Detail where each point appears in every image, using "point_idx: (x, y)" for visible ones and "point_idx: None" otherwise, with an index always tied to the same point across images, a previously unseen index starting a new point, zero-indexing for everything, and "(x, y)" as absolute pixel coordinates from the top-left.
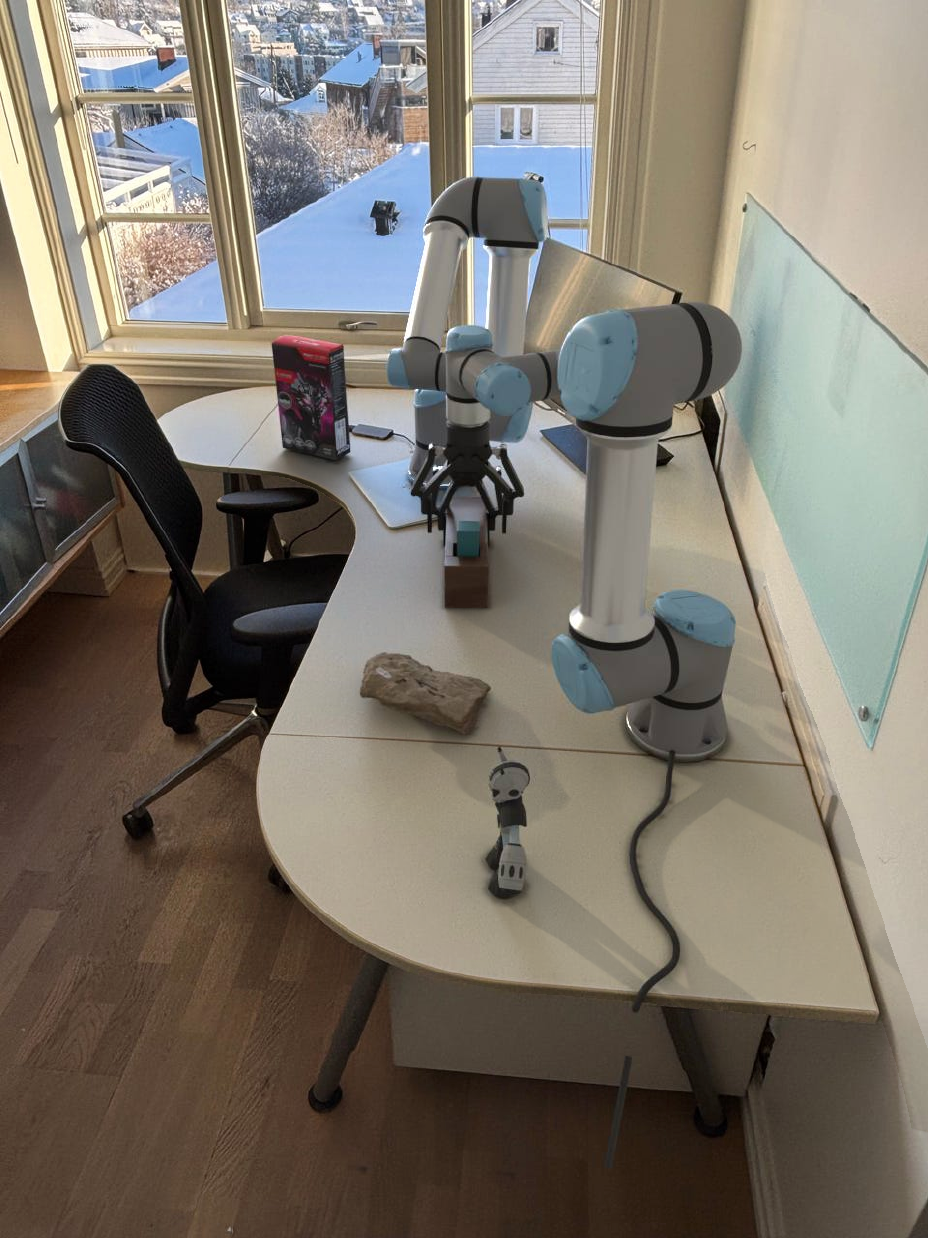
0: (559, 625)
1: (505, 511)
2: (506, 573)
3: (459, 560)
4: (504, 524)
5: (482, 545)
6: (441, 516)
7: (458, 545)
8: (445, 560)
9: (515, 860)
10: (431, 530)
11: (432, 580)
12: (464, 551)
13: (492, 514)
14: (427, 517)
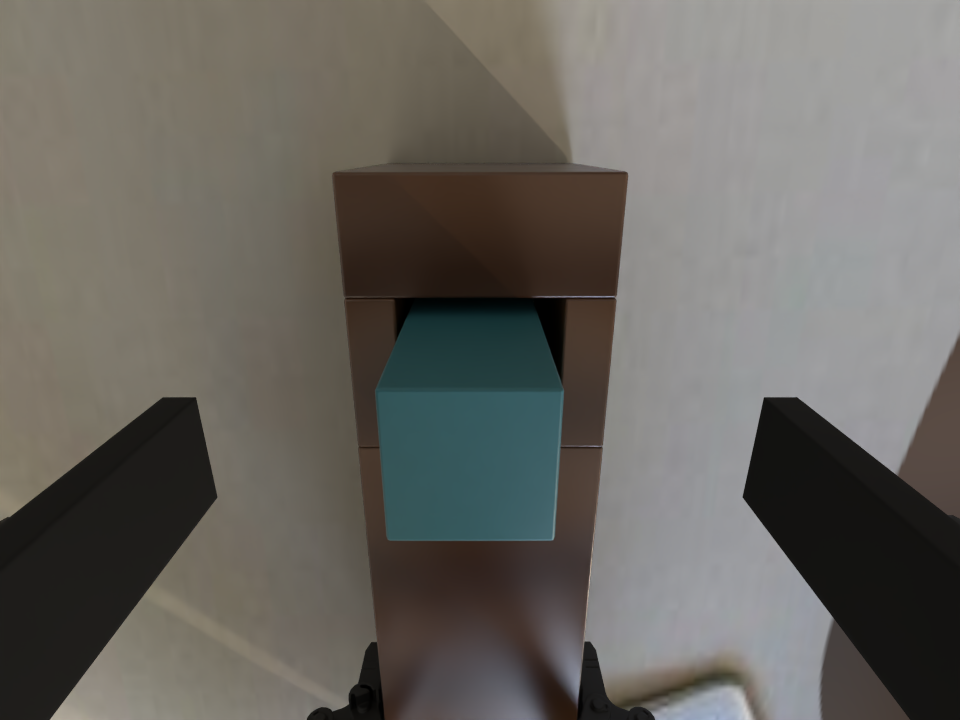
0: (42, 13)
1: (15, 526)
2: (324, 426)
3: (526, 248)
4: (130, 438)
5: None
6: (592, 698)
7: (537, 339)
8: (617, 244)
9: None
10: (776, 405)
11: (614, 373)
12: (494, 325)
13: (363, 710)
14: (894, 476)
